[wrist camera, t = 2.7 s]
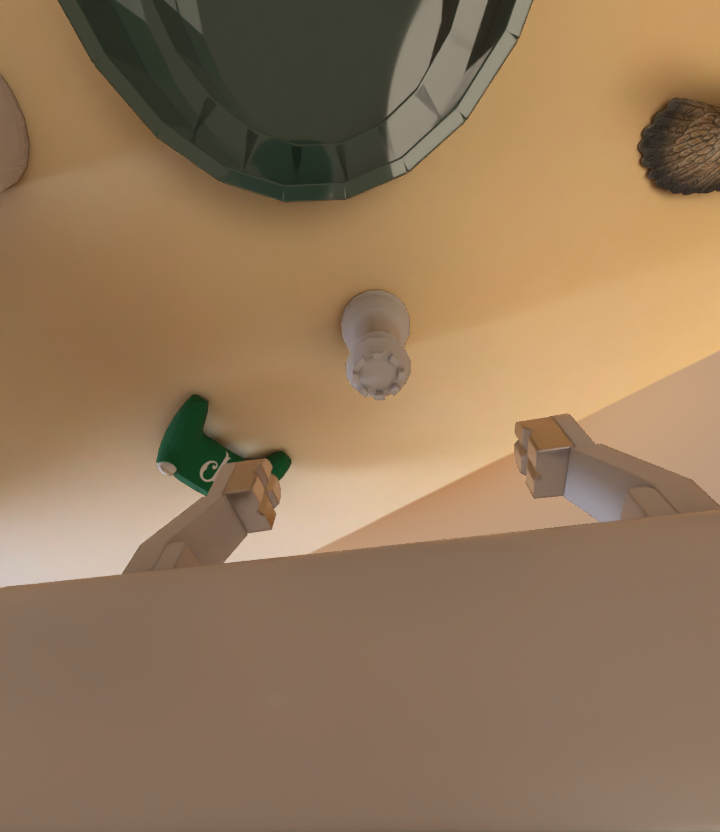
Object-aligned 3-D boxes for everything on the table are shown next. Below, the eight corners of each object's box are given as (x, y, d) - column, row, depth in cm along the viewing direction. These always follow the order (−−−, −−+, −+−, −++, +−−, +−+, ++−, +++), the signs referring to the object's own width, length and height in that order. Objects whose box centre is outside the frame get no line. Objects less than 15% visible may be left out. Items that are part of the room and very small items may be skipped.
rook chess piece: (402, 358, 25) (415, 421, 19) (338, 350, 25) (328, 411, 18) (415, 292, 23) (436, 338, 16) (345, 283, 23) (336, 326, 16)
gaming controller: (191, 395, 29) (140, 458, 28) (194, 390, 26) (137, 462, 24) (283, 457, 33) (243, 517, 31) (297, 460, 29) (253, 527, 27)
